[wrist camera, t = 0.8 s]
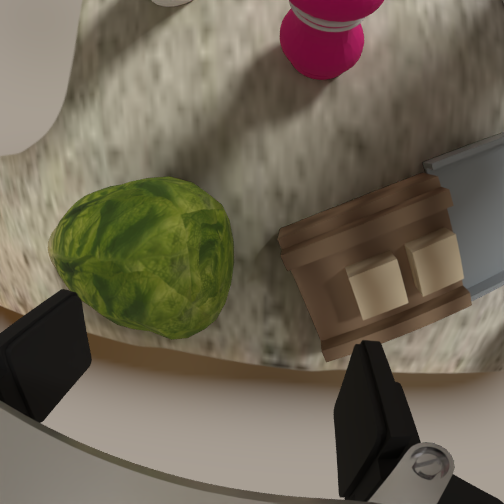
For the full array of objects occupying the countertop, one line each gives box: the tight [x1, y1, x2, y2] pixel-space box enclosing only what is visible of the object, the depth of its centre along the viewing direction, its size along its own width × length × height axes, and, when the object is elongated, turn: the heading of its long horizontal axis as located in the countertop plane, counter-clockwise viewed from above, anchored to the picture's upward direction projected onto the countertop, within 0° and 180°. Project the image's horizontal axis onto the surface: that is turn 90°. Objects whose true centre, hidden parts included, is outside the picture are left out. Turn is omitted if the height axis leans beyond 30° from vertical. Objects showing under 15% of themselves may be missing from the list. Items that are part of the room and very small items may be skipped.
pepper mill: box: [280, 0, 384, 80], centre depth 17 cm, size 7×7×20 cm
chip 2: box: [404, 227, 464, 297], centre depth 26 cm, size 4×4×2 cm
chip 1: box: [345, 250, 408, 320], centre depth 27 cm, size 4×4×2 cm
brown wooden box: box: [277, 173, 472, 362], centre depth 29 cm, size 16×14×6 cm
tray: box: [422, 132, 504, 301], centre depth 27 cm, size 15×16×2 cm
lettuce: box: [48, 177, 234, 339], centre depth 30 cm, size 14×23×13 cm, turn 91°
